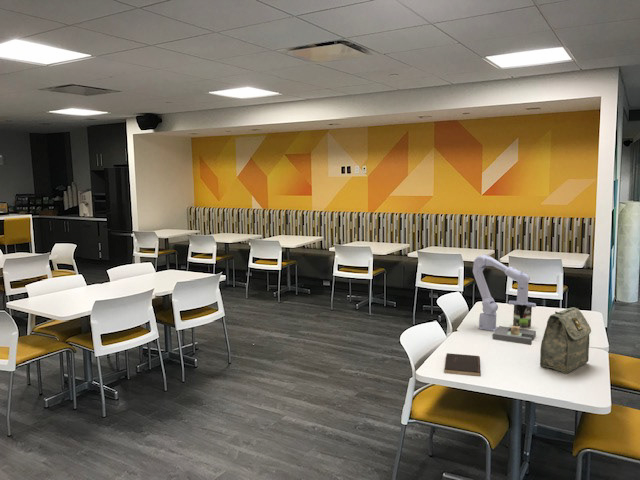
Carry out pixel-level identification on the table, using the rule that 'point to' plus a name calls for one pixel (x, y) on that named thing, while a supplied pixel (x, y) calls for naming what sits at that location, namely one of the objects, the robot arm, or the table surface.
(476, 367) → the hardcover book
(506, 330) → the trap board
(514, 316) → the coffee can
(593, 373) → the table surface
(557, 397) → the table surface
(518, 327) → the maple block
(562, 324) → the bag
